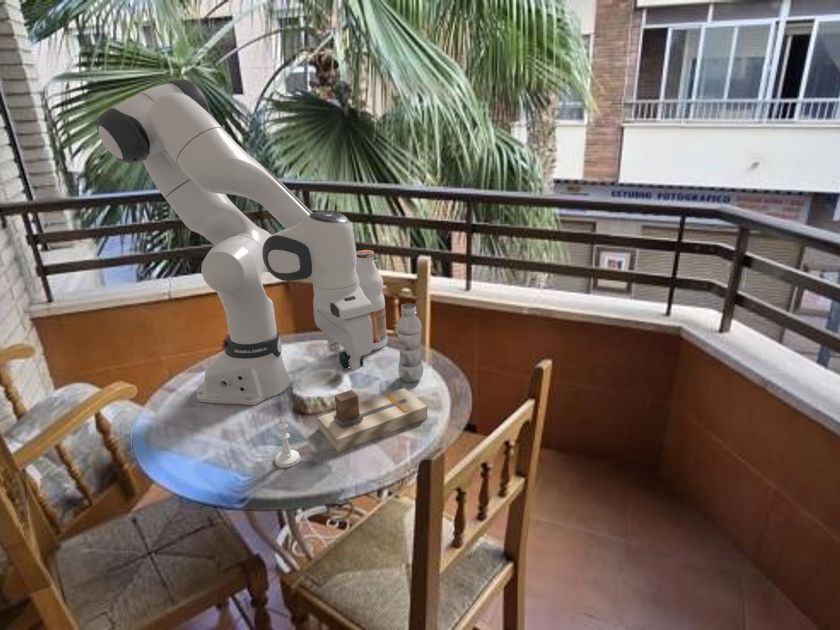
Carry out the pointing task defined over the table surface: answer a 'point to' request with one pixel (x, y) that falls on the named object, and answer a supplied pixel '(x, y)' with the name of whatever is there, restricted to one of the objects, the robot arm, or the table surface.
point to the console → (374, 419)
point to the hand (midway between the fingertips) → (344, 359)
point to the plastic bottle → (409, 344)
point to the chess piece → (286, 448)
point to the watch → (347, 358)
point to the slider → (347, 409)
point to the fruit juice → (373, 295)
